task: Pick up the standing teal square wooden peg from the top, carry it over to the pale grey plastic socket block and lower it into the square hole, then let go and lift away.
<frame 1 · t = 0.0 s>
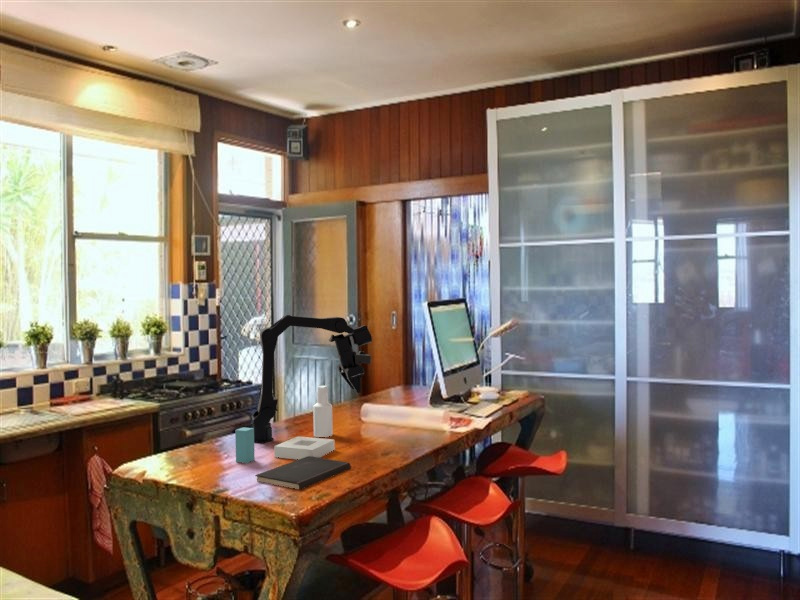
hand: (356, 390, 233), 15 cm above the table, tool pointing down, fingers open, 9 cm apart
socket block: (305, 453, 205), on the table
hardcover book: (304, 477, 181), on the table
white bottle: (323, 436, 229), on the table
peg: (245, 461, 197), on the table
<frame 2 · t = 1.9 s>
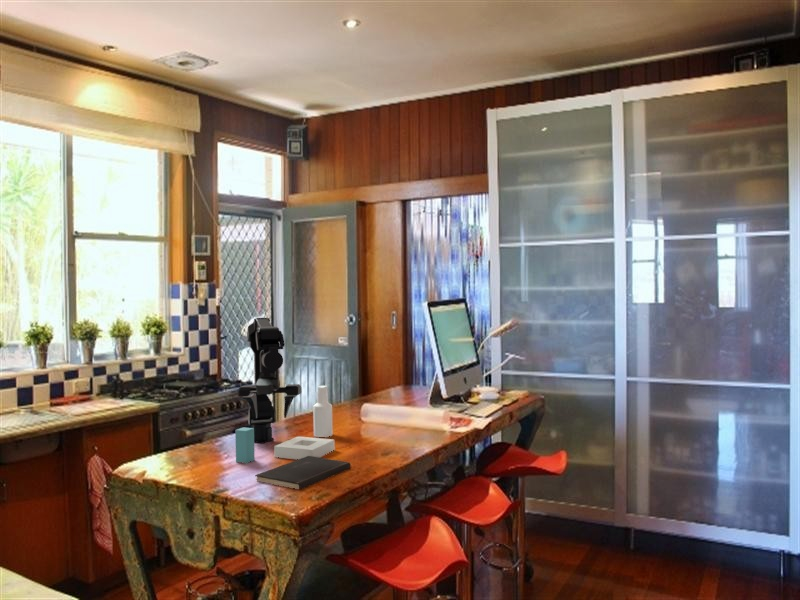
hand: (270, 418, 197), 13 cm above the table, tool pointing down, fingers open, 9 cm apart
nothing on the table moved.
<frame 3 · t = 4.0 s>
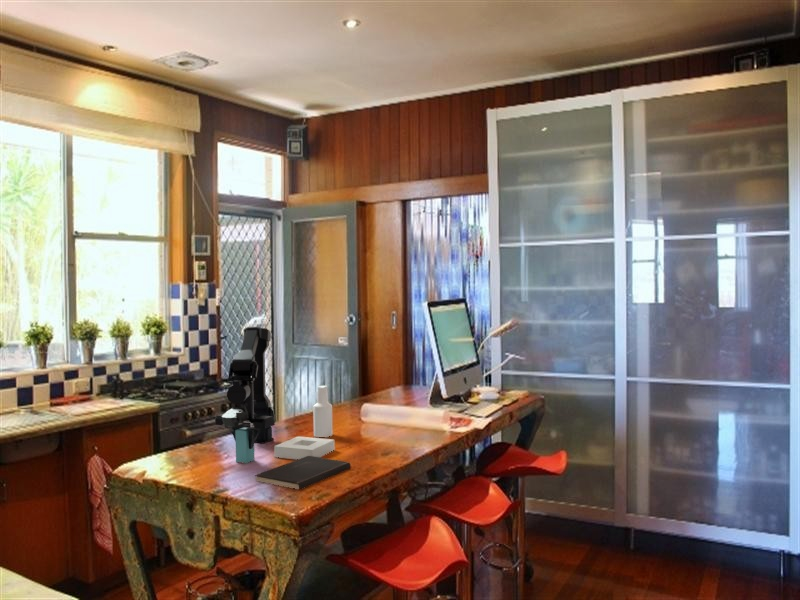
hand: (245, 448, 197), 4 cm above the table, tool pointing down, fingers closed on peg, 4 cm apart
peg: (245, 461, 197), on the table, touching gripper
everything else where it was.
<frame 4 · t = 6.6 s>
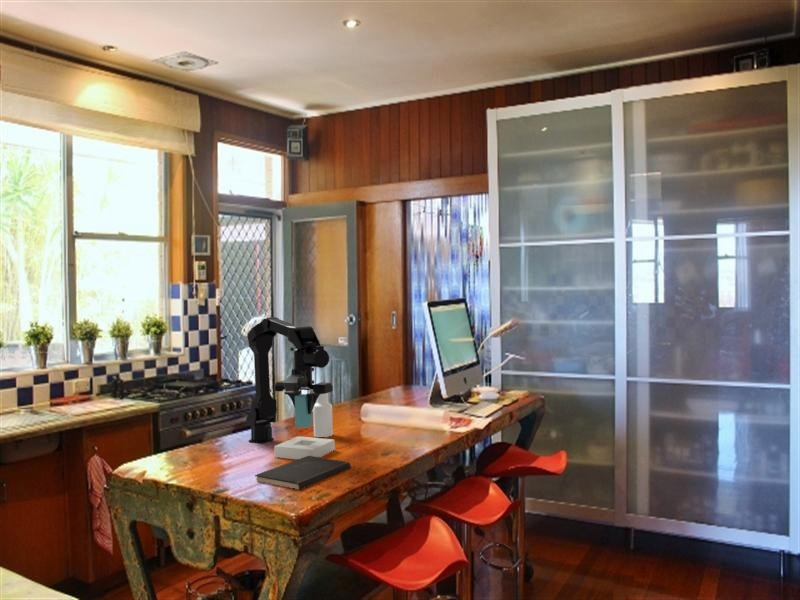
hand: (303, 413, 204), 13 cm above the table, tool pointing down, fingers closed on peg, 4 cm apart
peg: (303, 426, 204), point 9 cm above the table, touching gripper
everything else where it was.
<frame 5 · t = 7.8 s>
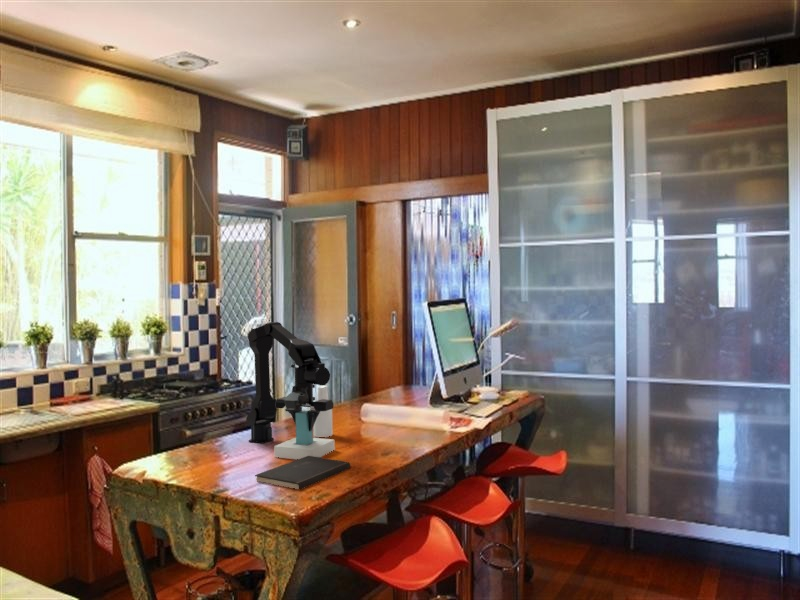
hand: (304, 430, 204), 8 cm above the table, tool pointing down, fingers closed on peg, 4 cm apart
peg: (304, 442, 204), point 3 cm above the table, touching gripper
everything else where it was.
when the fingers open (5 cm above the table, at t = 9.0 s): peg drops 1 cm, resting in socket block.
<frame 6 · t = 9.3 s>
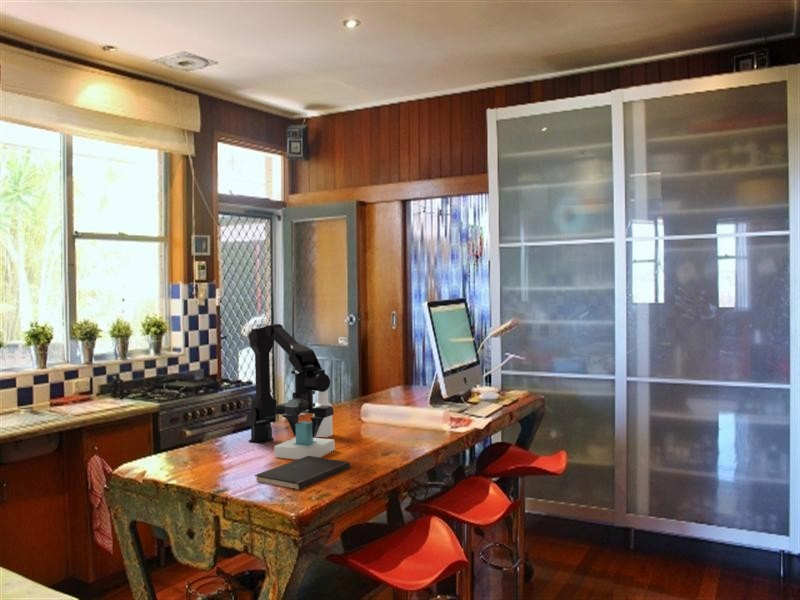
hand: (304, 436, 204), 5 cm above the table, tool pointing down, fingers open, 7 cm apart
peg: (304, 453, 204), resting in socket block
everything else where it was.
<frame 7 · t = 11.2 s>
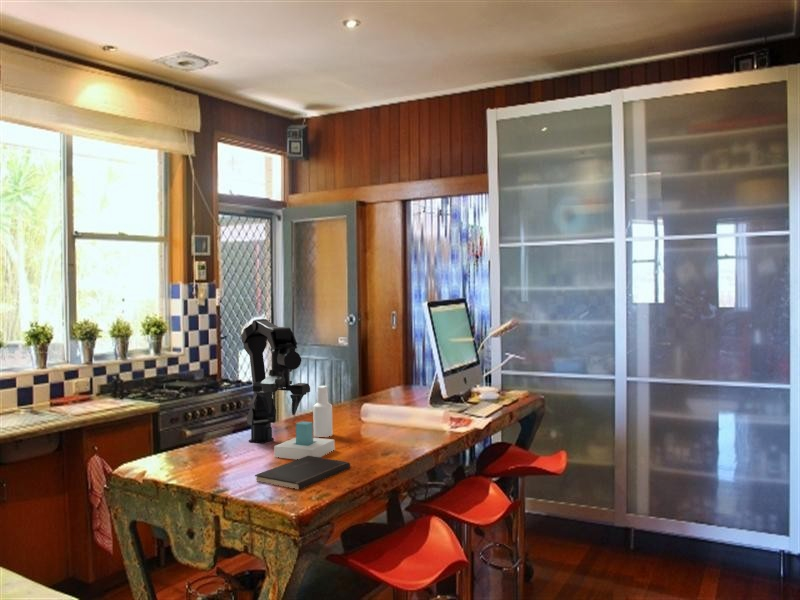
hand: (281, 413, 206), 13 cm above the table, tool pointing down, fingers open, 9 cm apart
nothing on the table moved.
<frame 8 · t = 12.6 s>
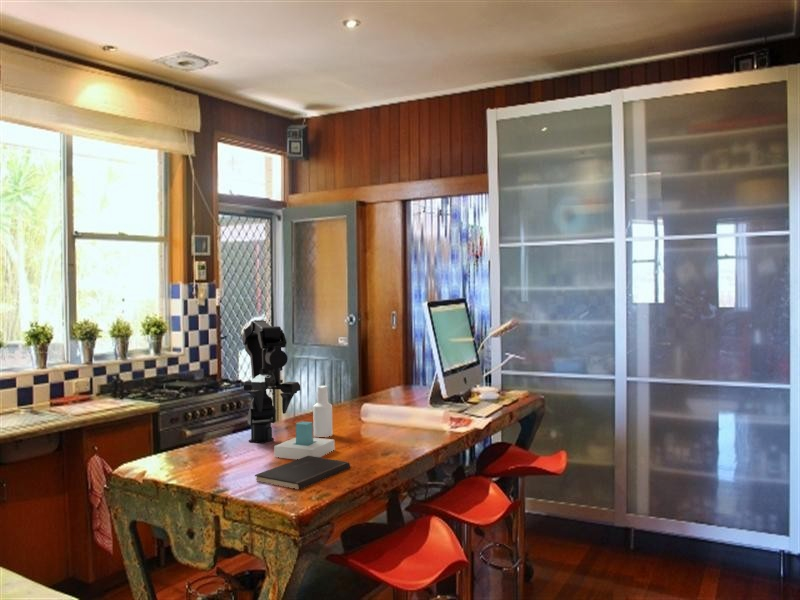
hand: (272, 412, 207), 13 cm above the table, tool pointing down, fingers open, 9 cm apart
nothing on the table moved.
at the end: peg 0.1 cm off-centre on the socket block, point 0.0 cm above the socket block's base; peg tilted 0°; the gripper is holding nothing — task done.
